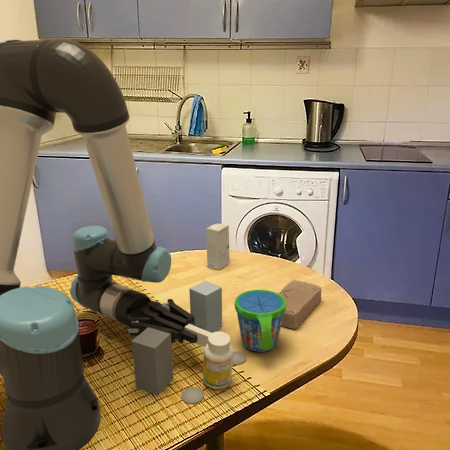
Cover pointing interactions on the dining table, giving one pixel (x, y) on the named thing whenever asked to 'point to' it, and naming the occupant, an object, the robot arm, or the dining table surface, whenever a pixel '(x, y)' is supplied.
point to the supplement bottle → (218, 361)
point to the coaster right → (238, 358)
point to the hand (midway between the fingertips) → (213, 342)
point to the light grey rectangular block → (206, 305)
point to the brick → (299, 302)
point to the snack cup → (260, 318)
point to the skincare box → (217, 246)
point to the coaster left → (192, 395)
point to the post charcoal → (152, 360)
